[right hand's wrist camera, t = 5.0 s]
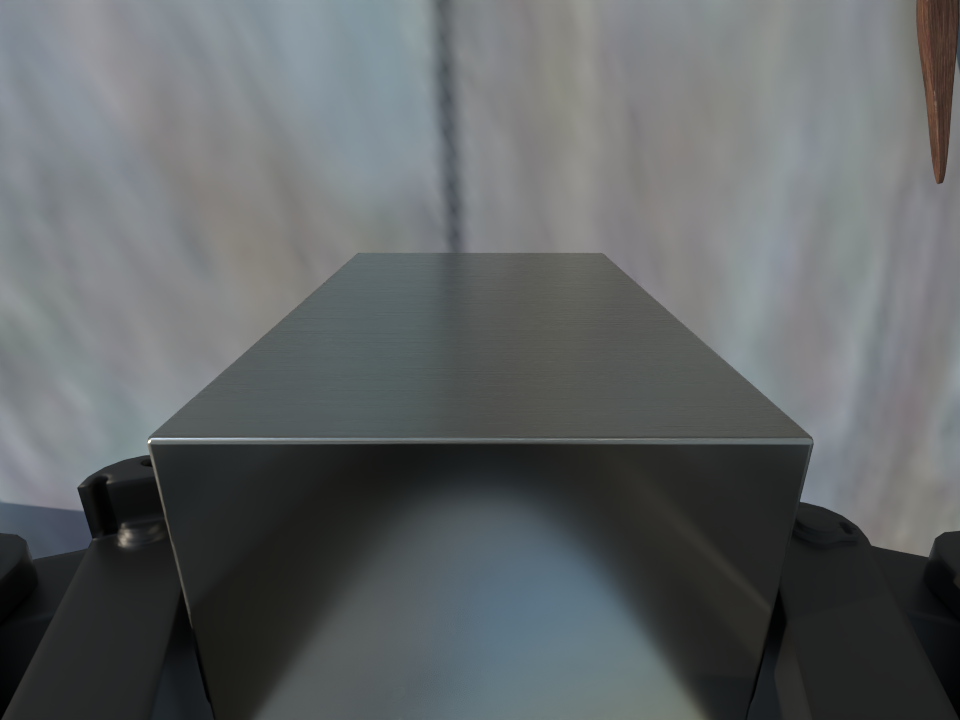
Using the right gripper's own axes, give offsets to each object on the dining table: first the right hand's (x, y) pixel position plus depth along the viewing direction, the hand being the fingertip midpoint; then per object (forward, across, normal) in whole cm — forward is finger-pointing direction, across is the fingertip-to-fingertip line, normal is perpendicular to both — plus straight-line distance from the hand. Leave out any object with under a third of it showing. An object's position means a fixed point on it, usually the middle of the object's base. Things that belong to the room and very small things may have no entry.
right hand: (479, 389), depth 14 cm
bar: (0, 0, -10) cm, 10 cm away
